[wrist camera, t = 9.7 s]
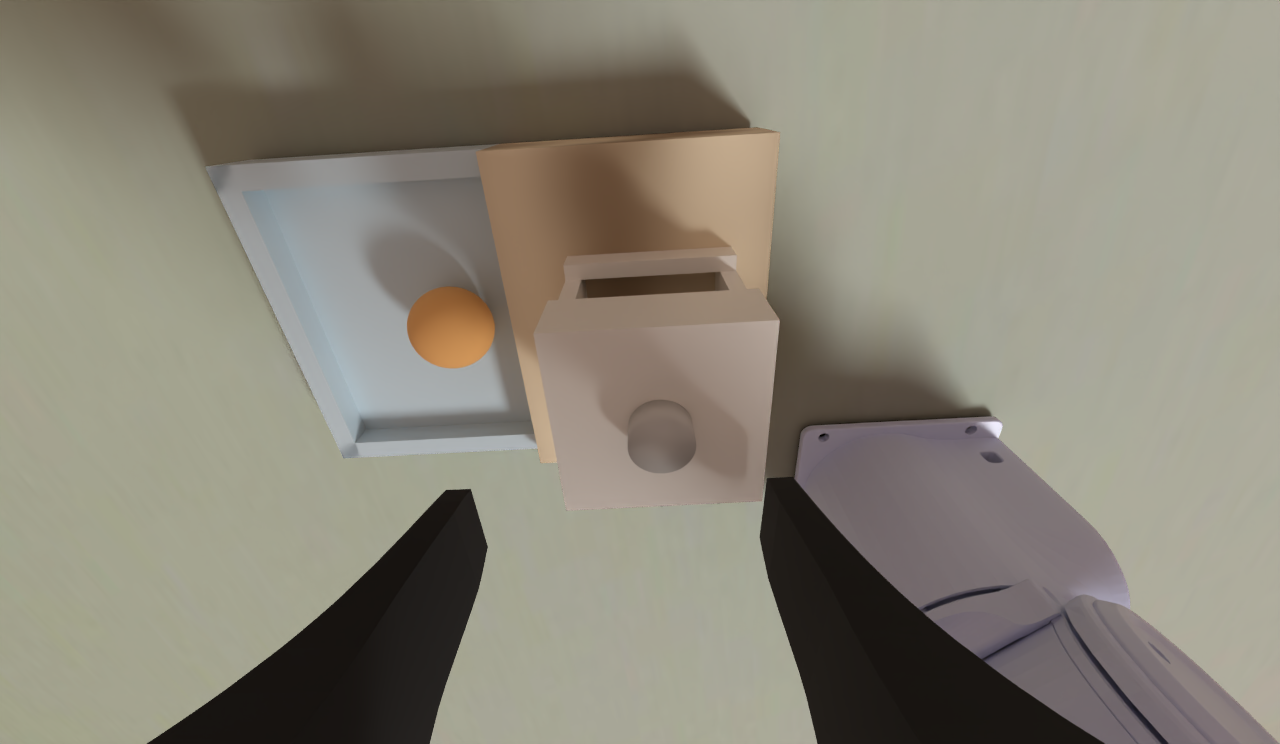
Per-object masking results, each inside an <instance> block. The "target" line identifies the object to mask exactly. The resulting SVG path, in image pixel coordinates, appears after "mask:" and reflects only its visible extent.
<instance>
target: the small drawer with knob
mask: <svg viewBox="0 0 1280 744" xmlns="http://www.w3.org/2000/svg"><path fill="white" fill-rule="evenodd" d="M736 263H737V255H736V253H735V252H734V250H733V249H732V247H714V248H697V249H680V250H663V251H647V252H630V253H613V254H596V255H579V256H567V258H566V260H565V262H564V265H563V267H564V274H565V283H564V286H563V288H562V291H561V293H560V296H559V299H558V300H549V301H547V304H546V306H545V308H544V311H543V313H542V315H541V317H540V320H539V322H538V324H537V327H536V329H535V331H534V333H533V335H534V340H535V345H536V351H537V356H538V362H539V367H540V372H541V378H542V383H543V388H544V394H545V399H546V404H547V410H548V415H549V421H550V426H551V431H552V437H553V442H554V447H555V453H556V458H557V463H558V469H559V474H560V480H561V485H562V490H563V496H564V501H565V506H566V511H568V510H589V509H610V508H630V507H651V506H672V505H693V504H714V503H734V502H755V501H762V497H763V486H764V476H765V466H766V456H767V446H768V436H769V425H770V415H771V405H772V395H773V385H774V374H775V364H776V354H777V344H778V334H779V324H780V320H779V318H778V317H777V315H776V314H775V312H774V311H773V309H772V307H771V306H770V304H769V303H768V301H767V300H766V298H765V297H764V295H763V294H762V292H761V291H760V289H747V288H746V287H745V285H744V283H743V282H742V280H741V278H740V276H739V275H738V273H737V271H736ZM708 272H715V291H706V292H689V293H671V294H654V295H636V296H619V297H601V298H587V291H586V282H585V280H587V279H604V278H621V277H639V276H656V275H673V274H690V273H708Z"/></svg>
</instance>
